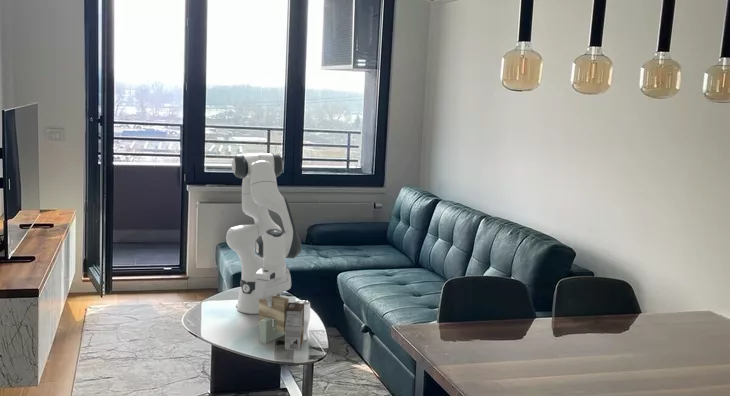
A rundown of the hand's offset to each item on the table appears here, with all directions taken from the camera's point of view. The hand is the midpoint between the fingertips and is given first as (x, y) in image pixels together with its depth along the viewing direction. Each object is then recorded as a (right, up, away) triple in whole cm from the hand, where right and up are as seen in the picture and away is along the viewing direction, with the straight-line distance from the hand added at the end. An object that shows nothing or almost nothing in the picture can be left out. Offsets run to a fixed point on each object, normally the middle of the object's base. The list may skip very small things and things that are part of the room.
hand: (273, 305), depth 274 cm
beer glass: (+11, -14, +2) cm, 18 cm away
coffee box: (+9, -15, -6) cm, 19 cm away
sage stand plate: (-1, -14, +2) cm, 14 cm away
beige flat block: (0, -10, +1) cm, 10 cm away
